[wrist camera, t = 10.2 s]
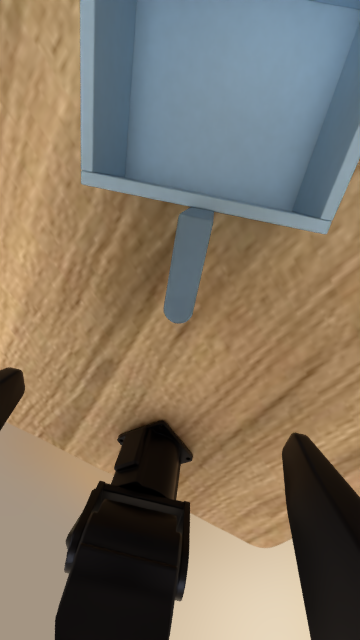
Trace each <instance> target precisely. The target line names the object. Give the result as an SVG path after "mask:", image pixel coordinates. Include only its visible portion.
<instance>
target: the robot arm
mask: <svg viewBox="0 0 360 640" xmlns="http://www.w3.org/2000/svg"><path fill="white" fill-rule="evenodd" d="M24 391H25V384H24V378H23V372H22V371H21V370H19V369H15V368H5V369H2V370H0V430H1V429H2V427H3V426H4V424H5V422H6V421H7V419H8V418H9V416H10V415H11V413H12V412H13V410H14V408H15V407H16V405H17V404H18V402H19V401H20V399H21V398H22V396H23V394H24ZM161 425H162V426H161ZM117 440H118V442H119V443H120V444H121V445H122V447H121V450H120V453H119V455H118V458H117V461H116V463H115V467H114V469H115V470H116V472H115V474H114V477H113V480H112V483H111V484H107V483H105V482H103V481H99V483H98V485H97V487H96V489H94V490H92V492H91V495H90V497H89V499H88V502H87V504H86V506H85V508H84V510H83V512H82V514H81V515H80V517H79V518H78V520H77V522H76V523H75V525H74V526H73V528H72V530H71V531H70V532H69V534H68V537H67V539H66V545H67V549H68V552H67V558H66V563H65V569H64V570H65V573H69V577H68V579H67V582H66V586H65V589H64V592H63V595H62V598H61V601H60V604H59V608H58V612H57V615H56V620H55V640H169V636H170V629H171V623H172V616H173V608H174V601H175V600H177V601H181V600H182V597H183V594H184V589H185V583H186V577H187V569H188V559H189V533H190V502H187V501H184V502H182V501H178V500H176V497H177V489H178V482H179V474H180V466H181V464H183V463H186V462H190V461H192V458H193V455H192V454H191V452H190V451H189V450H188V449H187V447H186V446H185V445H184V444H183V443H182V441H181V440H180V439H179V438H178V437H177V435H176V434H175V433H174V432H173V431H172V429H171V428H170V427H169V426H168V424H167V423H166V422H164V421H158V422H155V423H153V424H150V425H147V426H144V427H141V428H138V429H136V430H133V431H130V432H127V433H124V434H121V435H119V437H118V439H117ZM282 460H283V472H284V483H285V495H286V505H287V512H288V518H289V523H290V529H291V534H292V539H293V545H294V550H295V556H296V561H297V566H298V572H299V577H300V583H301V588H302V593H303V598H304V604H305V610H306V614H307V620H308V626H309V631H310V637H311V640H360V497H359V496H358V495H357V493H356V492H355V491H354V490H353V489H352V488H351V486H350V485H349V484H348V483H347V482H346V481H345V479H344V478H343V477H342V476H341V475H340V474H339V472H338V471H337V470H336V469H335V468H334V467H333V465H332V464H331V463H330V462H329V461H328V460H327V458H326V457H325V456H324V455H323V454H322V453H321V451H320V450H319V449H318V448H317V447H316V446H315V444H314V443H313V442H312V441H311V440H310V438H309V437H308V436H306V435H303V434H299V433H292V434H291V436H290V437H289V439H288V441H287V442H286V444H285V446H284V448H283V451H282Z"/></svg>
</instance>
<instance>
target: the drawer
mask: <svg viewBox="0 0 360 640" xmlns="http://www.w3.org/2000/svg"><path fill="white" fill-rule="evenodd" d="M80 75H81V170H82V171H81V184H83V185H87V186H92V187H97V188H102V189H107V190H112V191H116V192H121V193H126V194H131V195H136V196H141V197H146V198H150V199H155V200H160V201H165V202H170V203H175V204H180V205H184V206H189V207H190V208H188V209H187V210H185V211H184V212H182V213H181V214H180V215H179V218H178V224H177V230H176V236H175V242H174V248H173V254H172V260H171V266H170V273H169V279H168V285H167V291H166V297H165V303H164V313H165V316H166V317H167V318H168V319H169V320H170V321H172V322H174V323H184V322H186V321H188V320H189V319H190V318H191V316H192V314H193V310H194V305H195V301H196V296H197V292H198V288H199V283H200V279H201V274H202V270H203V266H204V261H205V257H206V252H207V248H208V244H209V239H210V235H211V230H212V226H213V219H214V212H219V213H223V214H228V215H233V216H238V217H243V218H248V219H253V220H257V221H262V222H267V223H272V224H277V225H282V226H287V227H291V228H296V229H301V230H306V231H311V232H316V233H321V234H327V232H328V230H329V228H330V225H331V223H332V222H331V221H332V220H333V218H334V216H335V214H336V211H337V209H338V207H339V205H340V202H341V200H342V198H343V195H344V193H345V191H346V188H347V186H348V184H349V182H350V179H351V177H352V175H353V172H354V170H355V168H356V166H357V163H358V161H359V159H360V0H80Z"/></svg>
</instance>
